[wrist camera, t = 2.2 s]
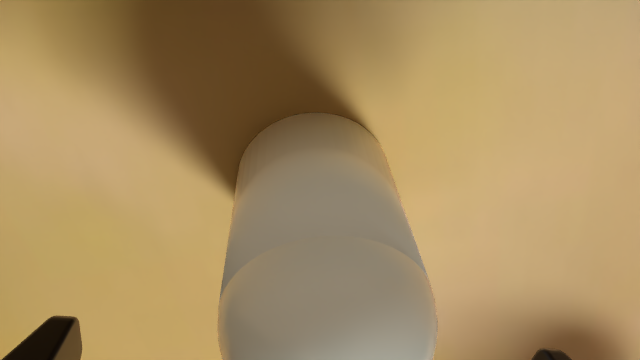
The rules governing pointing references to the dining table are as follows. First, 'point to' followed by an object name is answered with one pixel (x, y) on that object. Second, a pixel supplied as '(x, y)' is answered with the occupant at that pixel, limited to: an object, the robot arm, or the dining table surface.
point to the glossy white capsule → (322, 251)
